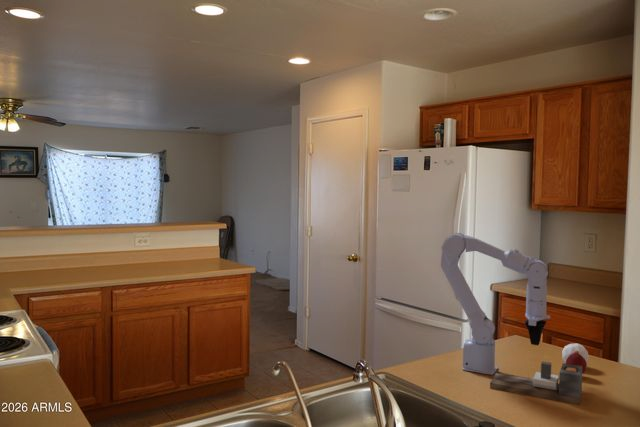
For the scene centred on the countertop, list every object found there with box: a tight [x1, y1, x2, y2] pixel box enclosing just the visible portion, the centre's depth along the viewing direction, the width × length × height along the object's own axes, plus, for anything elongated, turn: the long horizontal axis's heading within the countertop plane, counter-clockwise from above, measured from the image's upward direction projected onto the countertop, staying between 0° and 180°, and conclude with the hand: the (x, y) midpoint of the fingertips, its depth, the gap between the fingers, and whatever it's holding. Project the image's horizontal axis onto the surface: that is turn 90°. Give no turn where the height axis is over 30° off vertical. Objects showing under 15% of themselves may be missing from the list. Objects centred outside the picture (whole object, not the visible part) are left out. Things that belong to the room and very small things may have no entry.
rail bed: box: [489, 362, 583, 405], centre depth 151 cm, size 23×10×8 cm, turn 60°
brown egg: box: [566, 367, 576, 372], centre depth 147 cm, size 3×3×4 cm
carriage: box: [532, 361, 559, 390], centre depth 150 cm, size 6×7×6 cm
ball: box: [561, 342, 589, 364], centre depth 173 cm, size 8×8×8 cm
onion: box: [565, 350, 588, 374], centre depth 163 cm, size 6×6×8 cm
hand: (535, 344), depth 163 cm, fingers closed
